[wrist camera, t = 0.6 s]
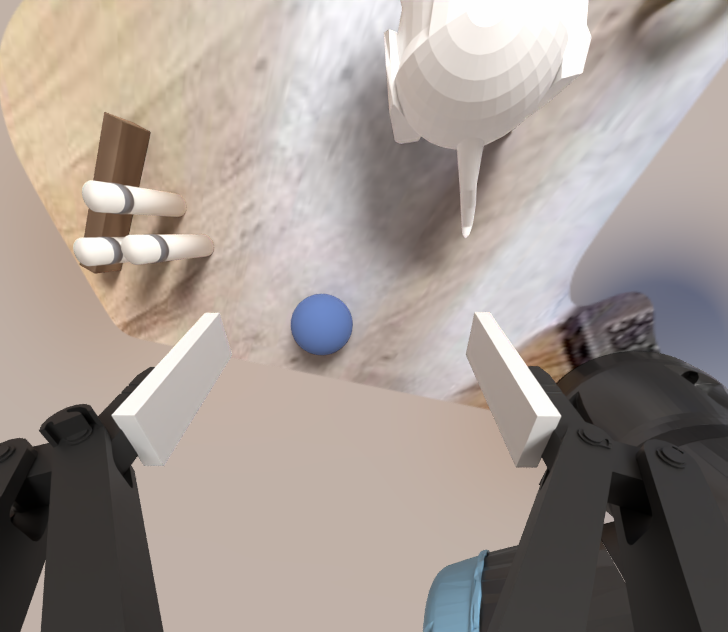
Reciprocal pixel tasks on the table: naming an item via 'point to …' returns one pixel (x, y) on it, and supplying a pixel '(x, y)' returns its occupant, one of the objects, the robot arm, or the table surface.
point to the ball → (321, 324)
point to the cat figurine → (479, 72)
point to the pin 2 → (131, 200)
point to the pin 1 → (99, 251)
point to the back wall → (116, 176)
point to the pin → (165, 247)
